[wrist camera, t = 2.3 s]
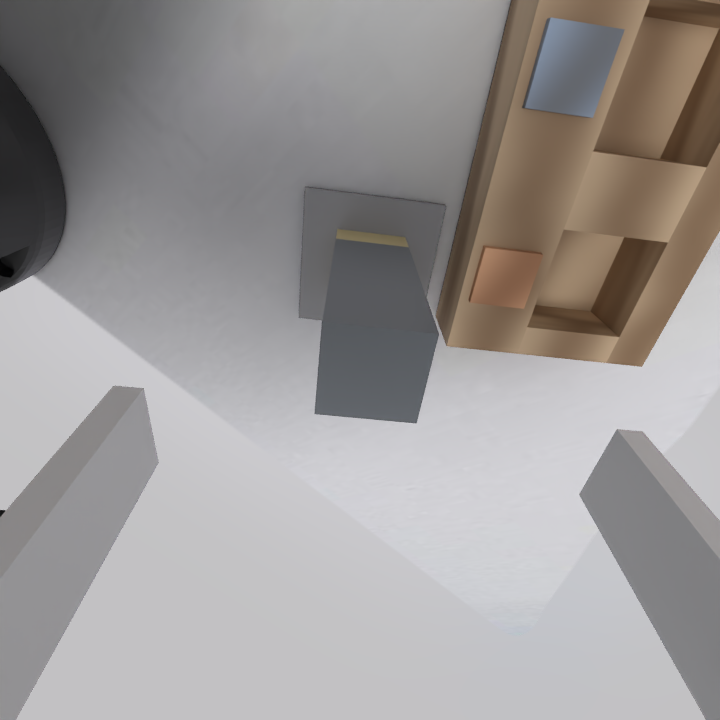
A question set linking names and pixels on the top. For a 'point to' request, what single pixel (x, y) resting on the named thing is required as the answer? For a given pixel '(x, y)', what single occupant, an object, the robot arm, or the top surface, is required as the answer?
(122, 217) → the top surface
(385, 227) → the mat
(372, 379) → the plug
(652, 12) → the socket board
